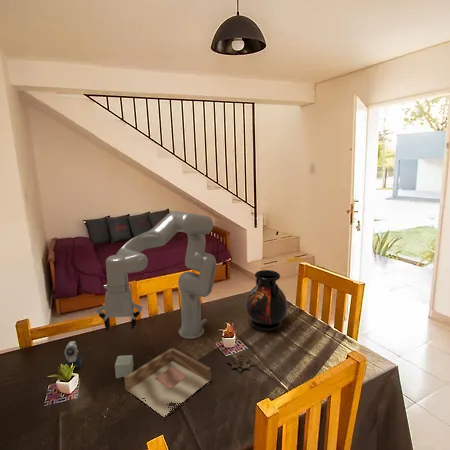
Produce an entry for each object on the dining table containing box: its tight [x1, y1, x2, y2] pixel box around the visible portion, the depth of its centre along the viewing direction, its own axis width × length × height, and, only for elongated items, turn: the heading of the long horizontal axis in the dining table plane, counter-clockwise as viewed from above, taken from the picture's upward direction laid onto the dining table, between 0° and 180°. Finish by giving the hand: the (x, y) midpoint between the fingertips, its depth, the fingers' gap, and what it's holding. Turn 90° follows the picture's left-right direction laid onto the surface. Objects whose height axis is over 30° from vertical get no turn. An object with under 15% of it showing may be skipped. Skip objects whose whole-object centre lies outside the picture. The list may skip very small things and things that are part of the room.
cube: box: [114, 354, 134, 379], centre depth 134 cm, size 6×6×6 cm
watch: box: [63, 340, 83, 370], centre depth 137 cm, size 6×8×11 cm
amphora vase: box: [245, 269, 289, 332], centre depth 169 cm, size 22×22×28 cm
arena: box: [124, 347, 212, 417], centre depth 126 cm, size 24×22×6 cm
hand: (120, 327), depth 129 cm, fingers open, 9 cm apart
